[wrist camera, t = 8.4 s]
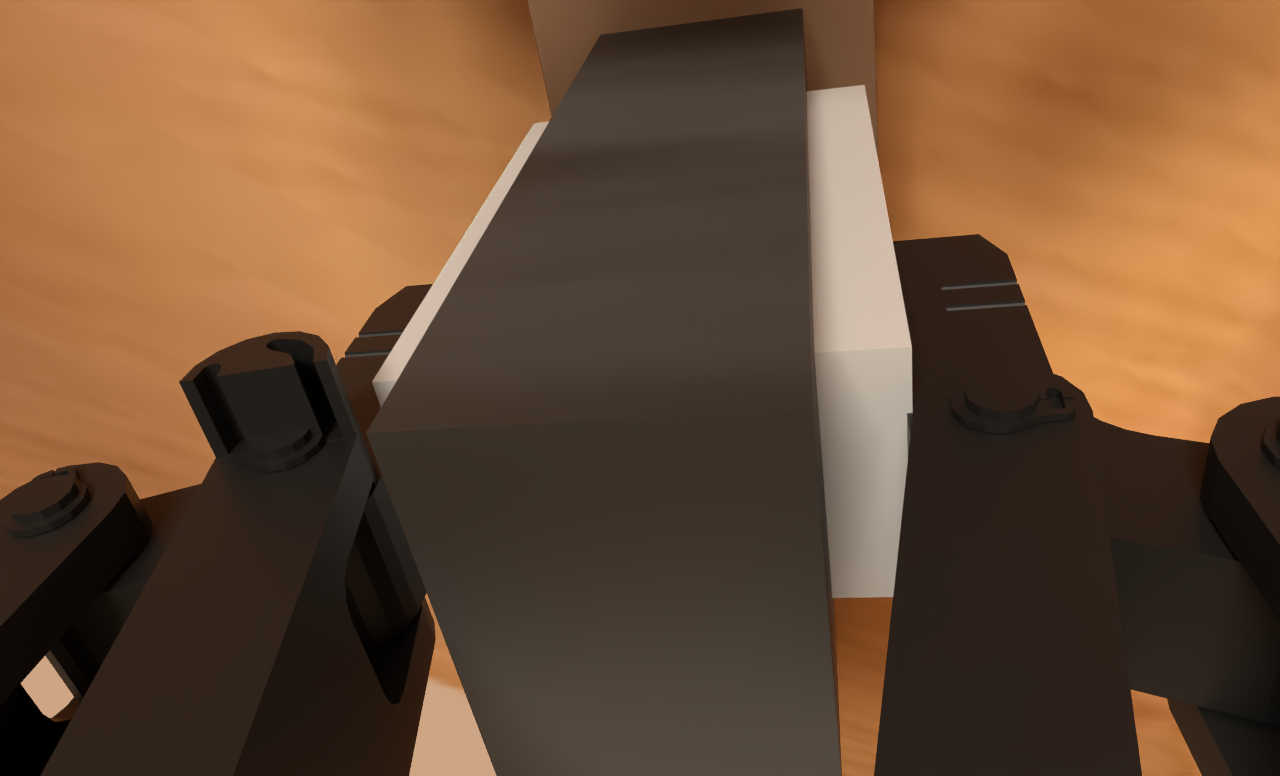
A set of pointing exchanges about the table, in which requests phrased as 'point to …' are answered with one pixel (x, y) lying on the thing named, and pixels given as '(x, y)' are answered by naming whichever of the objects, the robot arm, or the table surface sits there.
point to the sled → (640, 406)
